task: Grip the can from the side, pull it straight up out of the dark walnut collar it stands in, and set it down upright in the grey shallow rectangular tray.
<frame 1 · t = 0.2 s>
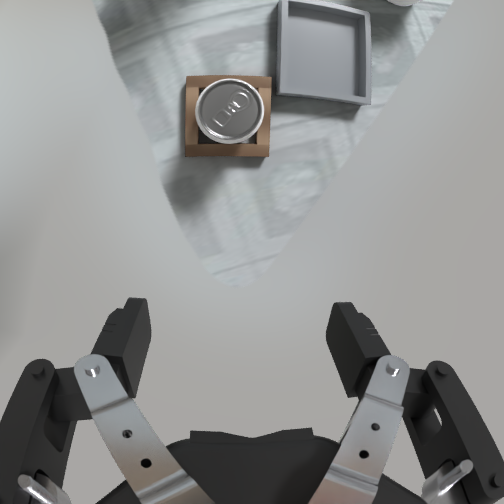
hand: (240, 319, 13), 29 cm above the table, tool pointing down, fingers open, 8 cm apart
walnut collar: (227, 115, 35), on the table
can: (227, 116, 35), resting in walnut collar
grey shallow rectangular tray: (321, 51, 32), on the table
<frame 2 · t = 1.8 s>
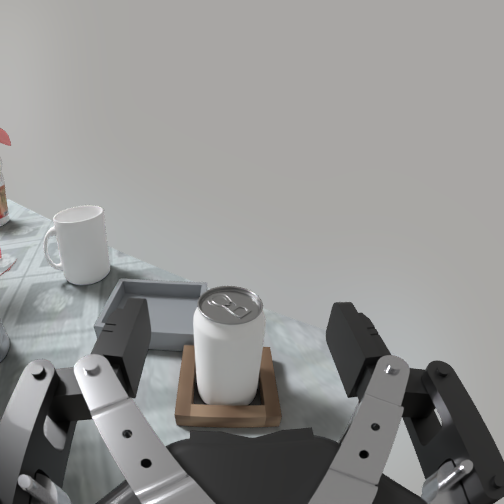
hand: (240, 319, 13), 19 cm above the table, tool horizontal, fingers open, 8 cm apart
walnut collar: (227, 389, 31), on the table
can: (227, 391, 31), resting in walnut collar
grey shallow rectangular tray: (156, 320, 40), on the table
mug: (82, 276, 49), on the table
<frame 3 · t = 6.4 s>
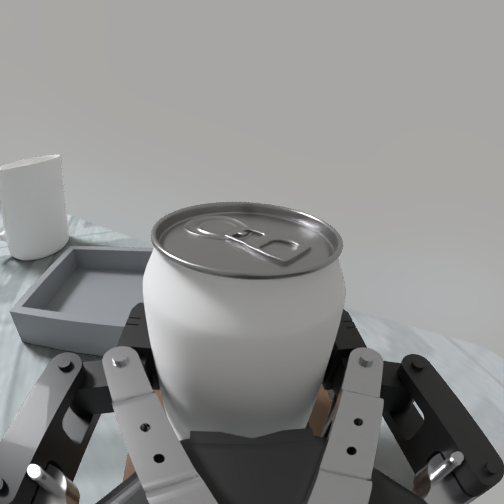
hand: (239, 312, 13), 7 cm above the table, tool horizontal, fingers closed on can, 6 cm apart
walnut collar: (235, 440, 14), on the table
can: (235, 442, 14), resting in walnut collar, touching gripper
grey shallow rectangular tray: (115, 307, 24), on the table
mug: (32, 251, 32), on the table
when the fingers open (9 cm above the table, at t = 12.2 s): can drops 1 cm, resting on grey shallow rectangular tray.
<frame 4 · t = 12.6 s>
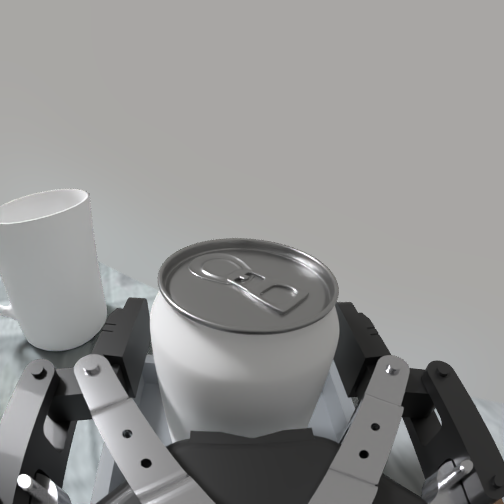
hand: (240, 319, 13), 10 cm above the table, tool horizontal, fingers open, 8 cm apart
can: (233, 454, 14), point 1 cm above the table, touching grey shallow rectangular tray
grey shallow rectangular tray: (235, 457, 15), on the table
mug: (54, 328, 23), on the table
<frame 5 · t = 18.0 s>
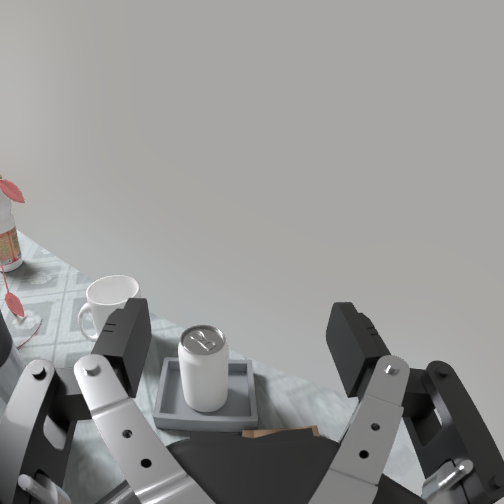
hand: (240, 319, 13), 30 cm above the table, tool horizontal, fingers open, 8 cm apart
walnut collar: (283, 465, 31), on the table
fruit juice: (10, 266, 69), on the table
can: (205, 397, 41), point 1 cm above the table, touching grey shallow rectangular tray
figurine: (5, 333, 45), on the table
grey shallow rectangular tray: (207, 399, 41), on the table
mug: (118, 345, 50), on the table
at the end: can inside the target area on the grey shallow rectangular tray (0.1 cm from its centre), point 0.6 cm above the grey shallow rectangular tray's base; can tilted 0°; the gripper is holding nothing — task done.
